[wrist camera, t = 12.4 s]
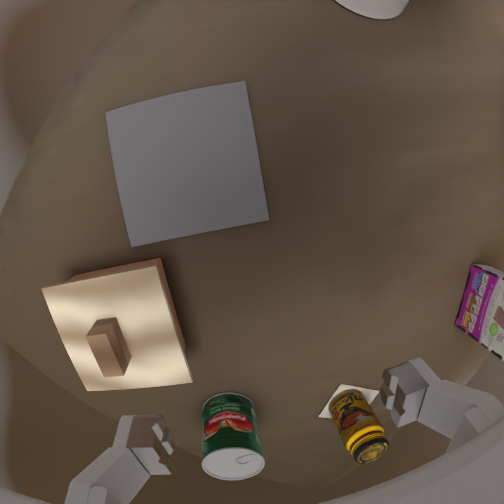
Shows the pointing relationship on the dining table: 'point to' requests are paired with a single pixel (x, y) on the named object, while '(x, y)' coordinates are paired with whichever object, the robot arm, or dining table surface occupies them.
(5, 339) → the dining table surface
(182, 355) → the lid
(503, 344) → the candy bar box
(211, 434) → the canned tomato
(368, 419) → the condiment
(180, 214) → the mat
